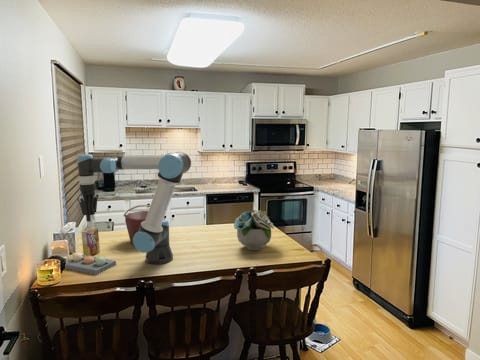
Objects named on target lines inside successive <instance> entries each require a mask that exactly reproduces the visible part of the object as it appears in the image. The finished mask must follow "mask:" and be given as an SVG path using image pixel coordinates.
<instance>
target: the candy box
mask: <svg viewBox="0 0 480 360" xmlns="http://www.w3.org/2000/svg"><path fill="white" fill-rule="evenodd" d="M81 240H82V241H81V243H82V250H83V251H82V255H87V256H93V257H94V256H95V255H98V254H100V253H101V250H100V249H101V248H100V238H99V228H98V227H90V228H88V229H85V230H82V231H81Z"/></svg>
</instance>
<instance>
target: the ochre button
mask: <svg viewBox="0 0 480 360" xmlns="http://www.w3.org/2000/svg"><path fill="white" fill-rule="evenodd" d="M71 255H72V259H73V262H76V263H78V262H80V261H83V256H82V255H83V251H76V252H73V253H72V254H71Z"/></svg>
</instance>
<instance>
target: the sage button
mask: <svg viewBox="0 0 480 360" xmlns="http://www.w3.org/2000/svg"><path fill="white" fill-rule="evenodd" d="M95 257H96V258H95V263H96V266H97V267H102V266H104V265H106V260H105V259H106V256H104V255H100V256H95Z"/></svg>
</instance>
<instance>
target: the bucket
mask: <svg viewBox="0 0 480 360" xmlns="http://www.w3.org/2000/svg"><path fill="white" fill-rule="evenodd" d="M150 205H151V204H138V205H135V206H133V207H131V208H129V209H127V210H126V211H125V212H124V214H123V217H125V218H124V219H125V220H124V222H125V226H126V229H127V233H128V236H129V242H130V245H131V246H133V247H135V246H134V244H133V237H134V235H135V234H136V233H137V232H138V231H139V228H140V225H141V223H142V222H143V221H145V220H146V217H147V214H148V211H149V210H140V211H133V212H130V211H132V210H134V209H137V208H141V207H142V208H143V207H148V208H150ZM128 212H129V213H128Z"/></svg>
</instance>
